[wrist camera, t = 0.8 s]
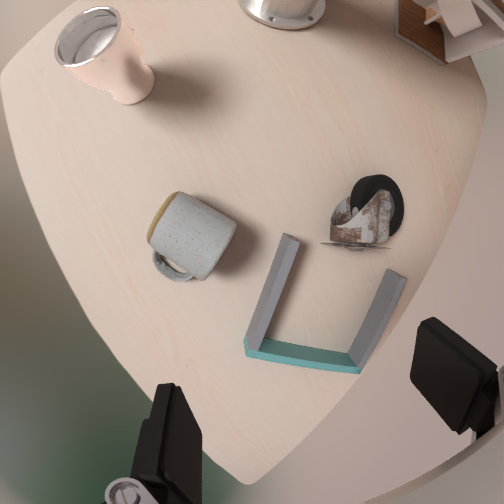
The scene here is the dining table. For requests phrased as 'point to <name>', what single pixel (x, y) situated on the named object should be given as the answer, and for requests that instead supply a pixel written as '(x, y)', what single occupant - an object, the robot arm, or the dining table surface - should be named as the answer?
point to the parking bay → (307, 355)
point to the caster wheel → (367, 214)
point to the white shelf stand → (450, 26)
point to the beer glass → (105, 54)
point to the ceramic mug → (189, 237)
